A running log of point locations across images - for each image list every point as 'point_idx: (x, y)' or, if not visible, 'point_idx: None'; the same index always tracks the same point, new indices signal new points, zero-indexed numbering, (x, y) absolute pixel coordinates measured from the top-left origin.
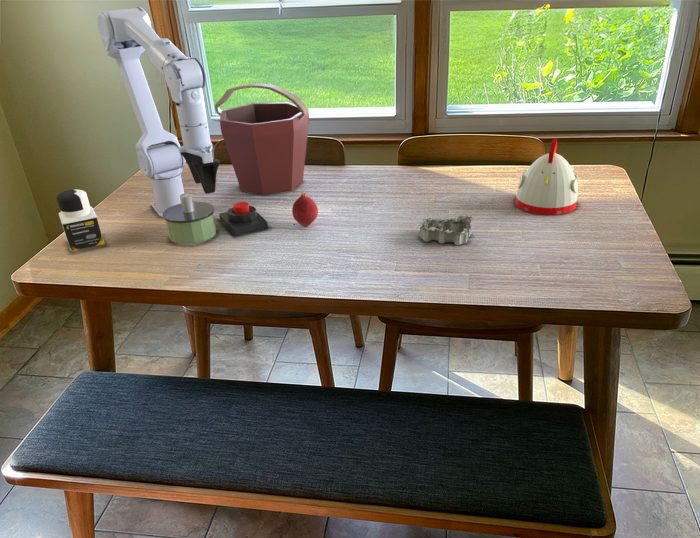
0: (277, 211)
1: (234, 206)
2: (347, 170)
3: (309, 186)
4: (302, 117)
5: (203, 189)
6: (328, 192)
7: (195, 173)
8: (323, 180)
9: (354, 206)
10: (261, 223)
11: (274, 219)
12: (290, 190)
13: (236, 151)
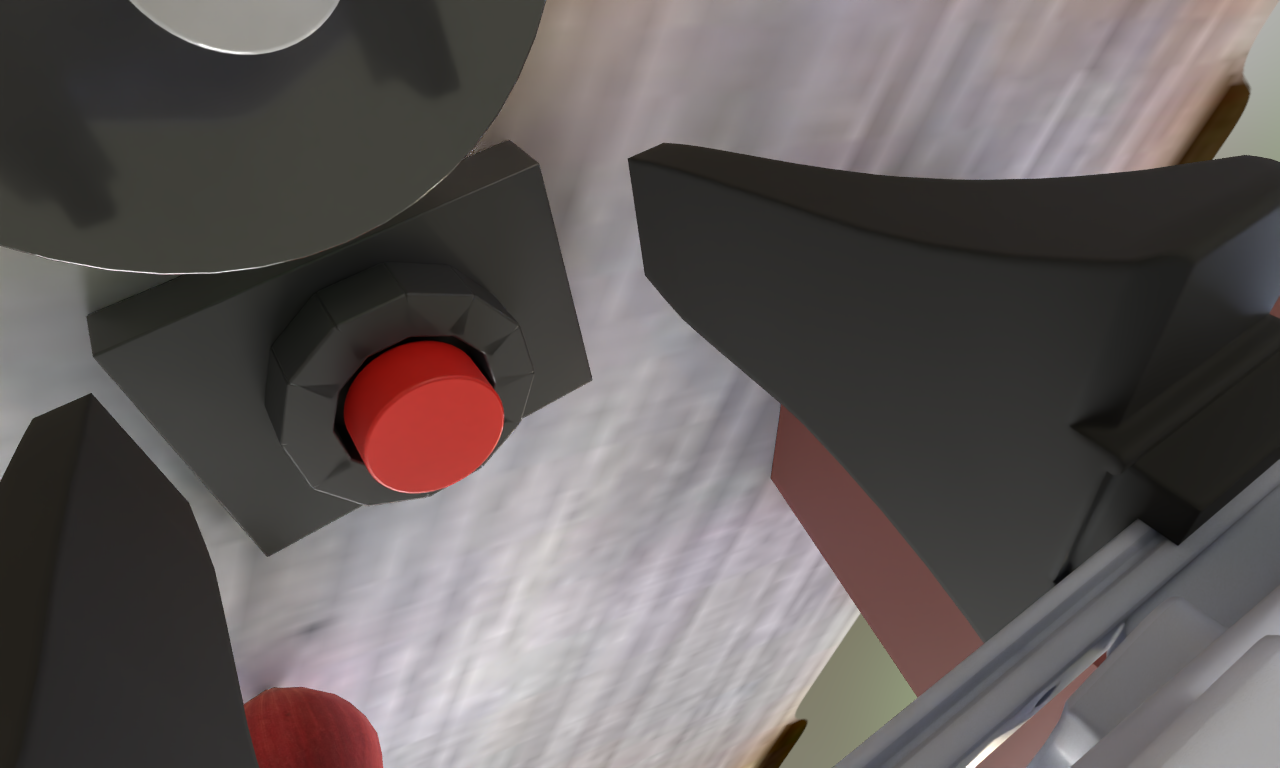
0: (548, 485)
1: (407, 398)
2: (845, 600)
3: (781, 530)
4: None
5: (62, 434)
6: (685, 617)
7: (737, 238)
8: (808, 558)
9: (494, 760)
10: (241, 526)
11: (427, 504)
12: (774, 477)
13: None
